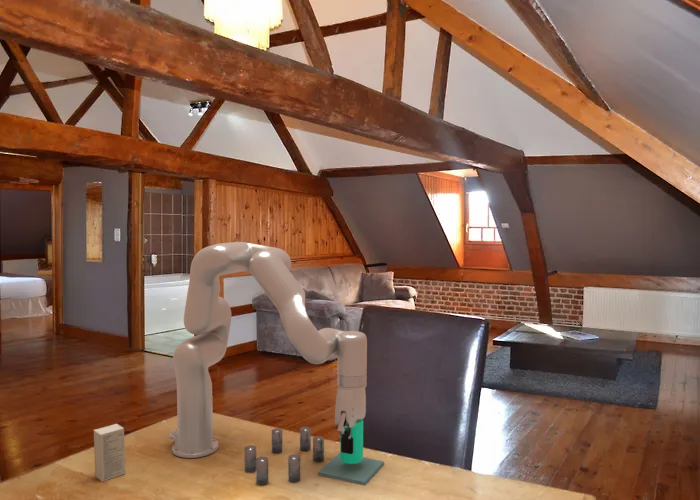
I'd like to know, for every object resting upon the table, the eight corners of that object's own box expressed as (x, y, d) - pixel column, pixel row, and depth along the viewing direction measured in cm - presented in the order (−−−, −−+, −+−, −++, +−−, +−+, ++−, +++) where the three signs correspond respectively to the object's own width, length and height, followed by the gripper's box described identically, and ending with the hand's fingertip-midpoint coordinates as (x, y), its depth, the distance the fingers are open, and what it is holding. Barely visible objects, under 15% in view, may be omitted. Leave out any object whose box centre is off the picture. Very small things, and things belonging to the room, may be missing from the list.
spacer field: (231, 478, 145) (231, 455, 145) (283, 442, 168) (283, 422, 168) (287, 491, 139) (287, 467, 138) (333, 452, 161) (333, 431, 161)
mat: (317, 475, 148) (317, 471, 148) (339, 455, 159) (339, 452, 159) (364, 485, 142) (364, 482, 142) (383, 464, 154) (384, 461, 154)
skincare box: (118, 468, 150) (117, 423, 150) (126, 474, 147) (125, 427, 147) (93, 476, 146) (92, 429, 145) (100, 482, 143) (99, 434, 142)
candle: (360, 464, 147) (361, 418, 146) (337, 462, 148) (338, 416, 148) (364, 455, 153) (365, 410, 152) (342, 453, 154) (343, 408, 153)
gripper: (352, 370, 159) (351, 435, 160) (324, 387, 143) (323, 458, 144) (377, 373, 155) (377, 439, 157) (351, 391, 140) (351, 464, 141)
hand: (351, 448), depth 150 cm, fingers closed on candle, 4 cm apart
